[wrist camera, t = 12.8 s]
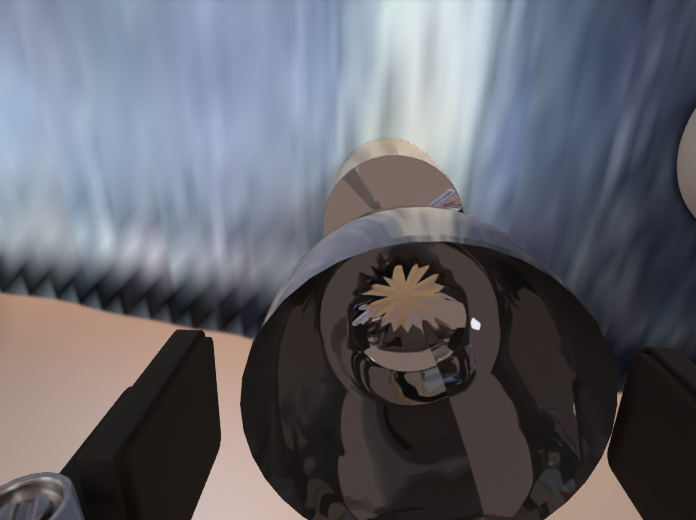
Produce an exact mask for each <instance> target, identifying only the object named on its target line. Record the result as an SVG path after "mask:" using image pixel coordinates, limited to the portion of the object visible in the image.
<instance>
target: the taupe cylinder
mask: <svg viewBox="0 0 696 520" xmlns="http://www.w3.org/2000/svg"><path fill="white" fill-rule="evenodd" d="M677 178H678V184H679V188H680V192H681V195H682V197H683V200H684V202H685V204H686V205H687V207H688V209H689V210H690V212H691V213H692V214H693V216H694V217H695V218H696V108H695V110H694V112H693V113H692V115H691V117H690V119H689V121H688V123H687V125H686V127H685V130H684V132H683V135H682V138H681V142H680V146H679V150H678V157H677Z"/></svg>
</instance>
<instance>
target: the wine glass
mask: <svg viewBox="0 0 696 520" xmlns="http://www.w3.org/2000/svg"><path fill="white" fill-rule="evenodd" d="M323 230H324V238H323V239H321V240H320V241H319V242H318V243H317V244H316V245H314V246H313V247H312V248H311V249H310V250H309V251H308V252H307V253H306V254H305V255H304V256H303V257H302V259H301V260H300V261H299V262H298V263H297V265H296V266H295V267H294V268H293V270H292V271H291V272H290V273H289V275H288V276H287V277H286V279H285V281H284V282H283V284H282V286H281V288H280V289H279V291H278V293H277V294H276V296H275V298H274V300H273V302H272V303H271V305H270V307H269V309H268V311H267V313H266V315H265V317H264V319H263V320H262V323H261V325H260V327H259V329H258V332H257V334H256V336H255V338H254V341H253V343H252V347H251V350H250V353H249V356H248V360H247V363H246V367H245V370H244V373H243V377H242V388H241V389H242V390H241V401H240V406H241V414H242V422H243V430H244V433H245V436H246V439H247V442H248V445H249V448H250V451H251V454H252V456H253V458H254V460H255V462H256V463H257V465H258V467H259V469H260V470H261V472H262V474H263V476H264V477H265V479H266V480H267V481H268V482H269V484H270V485H271V486H272V487H273V489H274V490H275V491H276V492H277V493H278V495H279V496H280V497H281V498H282V499H283V500H284V501H285V502H286V503H288V504H289V505H290V506H291V507H292V508H293V509H295V510H296V511H297V512H298V513H299V514H300V515H302V516H303V517H304V518H306V519H308V520H544V519H546V518H547V517H548V516H549V515H551V514H552V513H553V512H555V511H556V510H557V509H558V508H560V507H561V506H562V505H564V504H565V503H566V502H567V501H568V500H569V499H570V498H571V497H572V496H573V495H574V494H575V493H576V492H577V491H578V490H579V488H580V487H581V486H582V485H583V484H584V483H585V482H586V481H587V479H588V478H589V476H590V475H591V473H592V472H593V470H594V469H595V467H596V465H597V464H598V462H599V461H600V459H601V458H602V455H603V453H604V450H605V448H606V446H607V443H608V441H609V438H610V436H611V433H612V430H613V424H614V419H615V414H616V408H617V379H616V373H615V369H614V365H613V361H612V357H611V353H610V349H609V347H608V345H607V343H606V341H605V339H604V337H603V335H602V333H601V331H600V329H599V327H598V325H597V323H596V321H595V320H594V318H593V317H592V316H591V314H590V313H589V312H588V311H587V309H586V308H585V307H584V306H583V304H582V303H581V302H580V301H579V299H578V298H577V297H576V296H575V294H574V293H573V292H572V291H571V290H570V288H569V287H568V286H567V285H566V284H565V283H564V282H563V281H562V280H561V279H560V278H559V277H558V276H557V275H556V274H555V273H554V272H553V271H552V270H551V269H550V268H549V267H547V266H546V265H545V264H544V263H543V262H541V261H540V260H539V259H538V258H537V257H535V256H534V255H533V254H532V253H531V252H529V251H528V250H527V249H526V248H524V247H523V246H522V245H521V244H520V243H518V242H517V241H516V240H515V239H514V238H512V237H511V236H510V235H508V234H506V233H504V232H502V231H501V230H499V229H497V228H495V227H493V226H491V225H490V224H488V223H486V222H484V221H482V220H479V219H477V218H475V217H473V216H470V215H467V214H464V213H463V207H462V204H461V201H460V198H459V195H458V193H457V191H456V190H455V188H454V186H453V184H452V183H451V182H450V181H449V180H448V178H447V177H446V176H445V175H444V174H443V173H442V172H440V171H439V170H438V169H437V168H436V167H434V166H432V165H430V164H429V163H427V162H425V161H423V160H420V159H417V158H414V157H409V156H402V155H386V156H381V157H376V158H373V159H370V160H368V161H365V162H362V163H361V164H359V165H357V166H356V167H354V168H353V169H351V170H350V171H349V172H348V173H347V174H345V175H344V176H343V177H342V178H341V179H340V181H339V182H338V183H337V184H336V186H335V187H334V189H333V190H332V192H331V194H330V196H329V198H328V201H327V204H326V207H325V211H324V218H323Z"/></svg>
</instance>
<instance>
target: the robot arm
mask: <svg viewBox="0 0 696 520" xmlns="http://www.w3.org/2000/svg"><path fill="white" fill-rule="evenodd" d="M214 359H215V357H214V345H213V340H212V338H211V337H205V333H204V332H203V331H202V330H176V331H175V332H174V333H173V334H172V336H171V337H170V338H169V339H168V341H167V342H166V343H165V345H164V346H163V347H162V349H161V350H160V351H159V353H158V354H157V355H156V356H155V358H154V359H153V360H152V361H151V363H150V364H149V365H148V366H147V368H146V369H145V370H144V372H143V373H142V374H141V375H140V377H139V378H138V379H137V381H136V382H135V383H134V385H133V386H132V387H128V388H127V389H126V390H125V391H124V392H123V393H122V395H121V396H120V397H119V398H118V400H117V401H116V402H115V403H114V405H113V406H112V407H111V408H110V410H109V411H108V412H107V414H106V415H105V416H104V417H103V419H102V420H101V421H100V422H99V424H98V425H97V426H96V428H95V429H94V430H93V431H92V433H91V434H90V435H89V436H88V438H87V439H86V440H85V441H84V443H83V444H82V445H81V447H80V448H79V449H78V450H77V452H76V453H75V454H74V455H73V457H72V458H71V459H70V460H69V462H68V463H67V464H66V466H65V467H64V468H63V469H62V471H61V472H60V473H51V472H43V473H35V474H30V475H27V476H23V477H20V478H17V479H14V480H12V481H10V482H8V483H6V484H4V485H2V486H0V520H191V518H192V516H193V513H194V511H195V508H196V506H197V503H198V501H199V499H200V496H201V494H202V491H203V488H204V486H205V483H206V481H207V479H208V476H209V474H210V471H211V468H212V466H213V464H214V461H215V459H216V456H217V453H218V451H219V447H220V442H221V429H220V417H219V406H218V393H217V381H216V369H215V360H214ZM607 458H608V463H609V466H610V468H611V470H612V472H613V473H614V475H615V476H616V478H617V479H618V481H619V483H620V484H621V486H622V487H623V489H624V490H625V492H626V493H627V495H628V497H629V498H630V500H631V501H632V503H633V504H634V506H635V508H636V509H637V511H638V512H639V514H640V515H641V517H642V518H643V520H696V365H694V364H693V363H692V362H691V361H690V360H688V359H687V358H686V357H685V356H684V355H683V354H681V353H680V352H679V351H678V350H676V349H674V348H654V347H645V348H643V349H642V350H641V351H640V353H637V354H635V355H634V356H633V357H632V360H631V364H630V367H629V371H628V375H627V379H626V383H625V386H624V390H623V394H622V398H621V402H620V405H619V410H618V413H617V417H616V421H615V424H614V428H613V432H612V436H611V440H610V443H609V447H608V452H607Z"/></svg>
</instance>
